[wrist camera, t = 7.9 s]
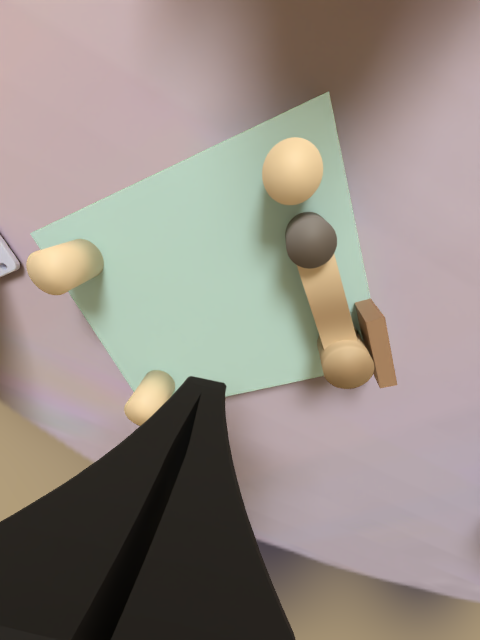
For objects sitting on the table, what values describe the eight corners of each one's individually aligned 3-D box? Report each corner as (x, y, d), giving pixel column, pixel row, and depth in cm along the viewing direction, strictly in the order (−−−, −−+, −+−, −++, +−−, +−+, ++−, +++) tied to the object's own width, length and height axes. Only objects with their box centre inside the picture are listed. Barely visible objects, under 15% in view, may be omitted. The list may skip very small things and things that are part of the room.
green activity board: (153, 402, 24) (129, 445, 20) (44, 230, 18) (-18, 243, 14) (377, 352, 19) (402, 396, 15) (324, 98, 13) (343, 66, 10)
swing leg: (275, 222, 15) (275, 231, 12) (325, 203, 14) (335, 208, 12) (323, 363, 18) (329, 393, 16) (364, 353, 18) (378, 382, 15)
